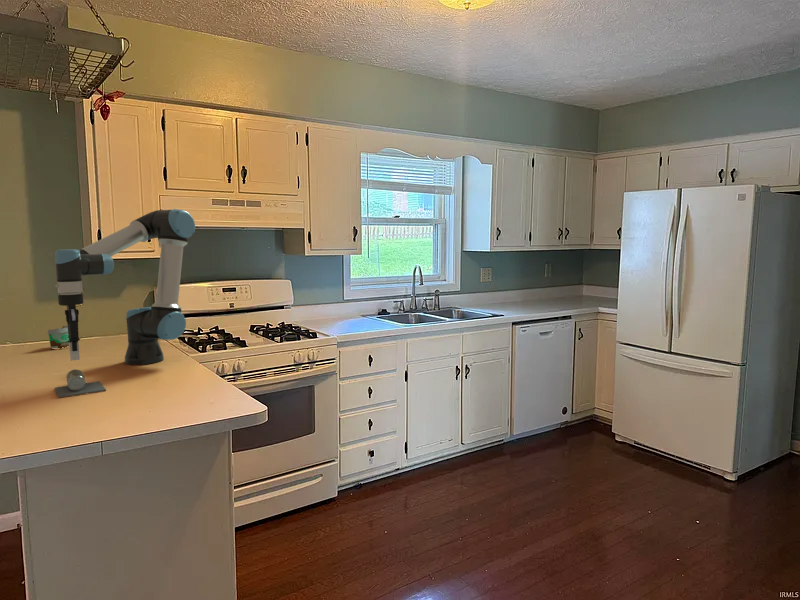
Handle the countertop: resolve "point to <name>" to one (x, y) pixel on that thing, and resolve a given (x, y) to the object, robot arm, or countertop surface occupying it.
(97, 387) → the rubber mat
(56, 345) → the food container
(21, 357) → the countertop surface
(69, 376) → the green soda can
